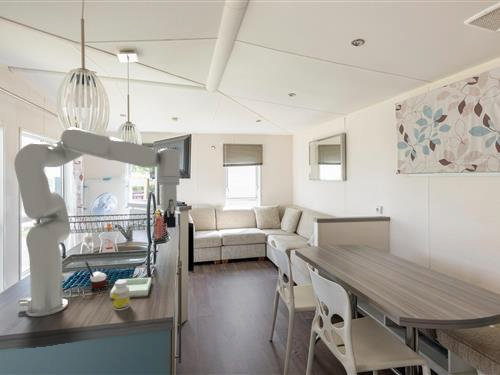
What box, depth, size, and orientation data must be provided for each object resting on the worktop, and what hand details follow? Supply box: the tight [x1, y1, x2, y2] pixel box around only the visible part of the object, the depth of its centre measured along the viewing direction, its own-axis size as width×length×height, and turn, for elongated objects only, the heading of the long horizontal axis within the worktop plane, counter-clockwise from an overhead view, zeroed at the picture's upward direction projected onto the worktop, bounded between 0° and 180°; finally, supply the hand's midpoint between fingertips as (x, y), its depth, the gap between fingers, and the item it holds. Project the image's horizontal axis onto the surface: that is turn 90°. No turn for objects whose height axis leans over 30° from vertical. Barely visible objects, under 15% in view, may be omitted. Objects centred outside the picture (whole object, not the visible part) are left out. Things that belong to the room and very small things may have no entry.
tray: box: [109, 277, 152, 299], centre depth 124 cm, size 14×14×2 cm
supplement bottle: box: [112, 279, 130, 311], centre depth 108 cm, size 5×5×10 cm
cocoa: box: [85, 261, 110, 290], centre depth 127 cm, size 10×6×12 cm, turn 118°
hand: (169, 225), depth 114 cm, fingers open, 9 cm apart
